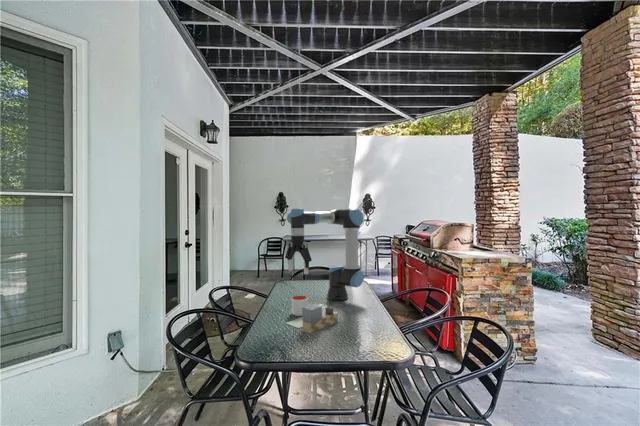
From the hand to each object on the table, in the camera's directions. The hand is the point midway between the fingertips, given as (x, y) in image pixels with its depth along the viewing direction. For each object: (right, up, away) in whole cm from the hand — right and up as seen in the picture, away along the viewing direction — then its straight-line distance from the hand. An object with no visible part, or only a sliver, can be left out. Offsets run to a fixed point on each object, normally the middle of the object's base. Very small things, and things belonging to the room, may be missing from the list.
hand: (298, 272), depth 168 cm
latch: (+18, -23, -3) cm, 29 cm away
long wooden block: (+13, -28, -8) cm, 32 cm away
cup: (0, -28, +12) cm, 31 cm away
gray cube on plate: (+8, -23, -13) cm, 27 cm away
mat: (+1, -28, -4) cm, 28 cm away
